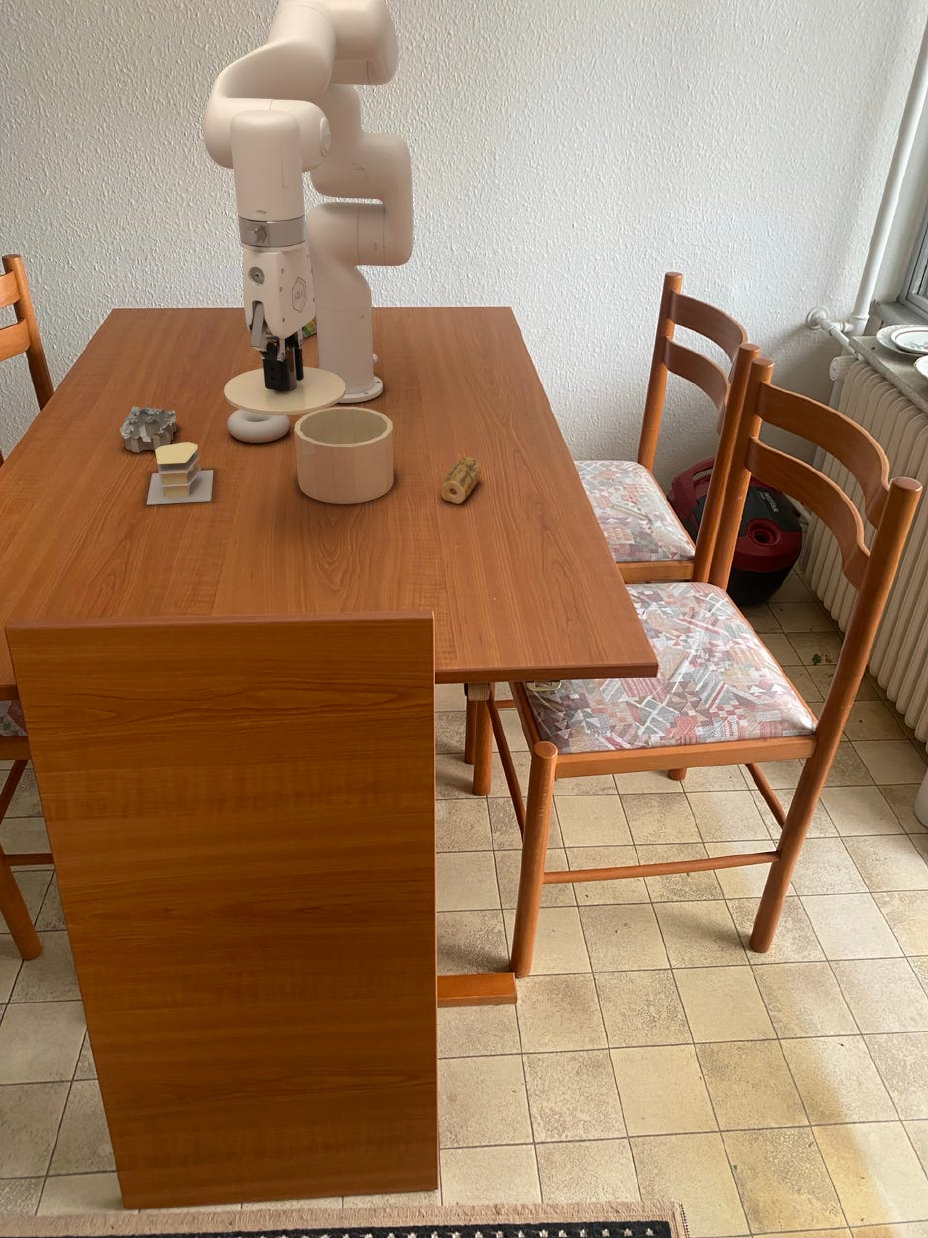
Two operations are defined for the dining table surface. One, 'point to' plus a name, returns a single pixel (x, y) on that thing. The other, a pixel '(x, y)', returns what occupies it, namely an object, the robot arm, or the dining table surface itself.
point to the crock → (344, 454)
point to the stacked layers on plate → (179, 476)
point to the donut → (257, 426)
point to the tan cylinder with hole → (461, 480)
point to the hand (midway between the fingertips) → (284, 382)
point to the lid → (301, 398)
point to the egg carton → (148, 428)
